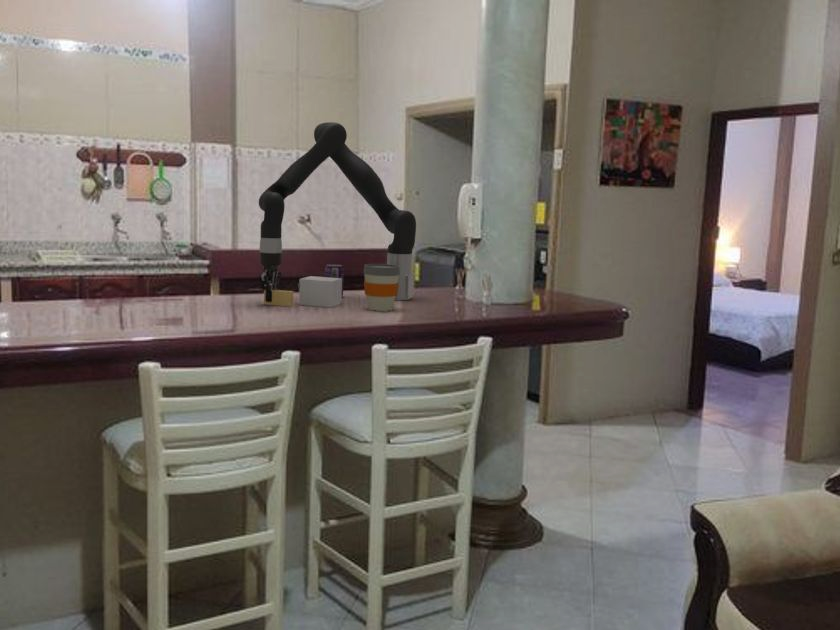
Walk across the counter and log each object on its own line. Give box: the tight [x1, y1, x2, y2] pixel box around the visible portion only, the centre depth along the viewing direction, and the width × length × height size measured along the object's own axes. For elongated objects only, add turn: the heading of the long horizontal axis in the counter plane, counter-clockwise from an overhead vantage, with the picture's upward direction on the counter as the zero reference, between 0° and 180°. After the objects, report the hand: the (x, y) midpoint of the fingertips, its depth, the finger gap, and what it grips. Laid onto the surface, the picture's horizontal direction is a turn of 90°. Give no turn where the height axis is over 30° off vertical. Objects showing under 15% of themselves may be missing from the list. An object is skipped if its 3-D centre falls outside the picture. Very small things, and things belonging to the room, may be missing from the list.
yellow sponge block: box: [263, 289, 294, 307], centre depth 271 cm, size 10×2×5 cm, turn 77°
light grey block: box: [297, 275, 343, 308], centre depth 277 cm, size 13×10×9 cm
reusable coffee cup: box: [362, 263, 400, 312], centre depth 272 cm, size 13×13×15 cm
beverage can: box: [324, 263, 345, 297], centre depth 296 cm, size 7×7×12 cm
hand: (270, 301), depth 272 cm, fingers closed on yellow sponge block, 1 cm apart
